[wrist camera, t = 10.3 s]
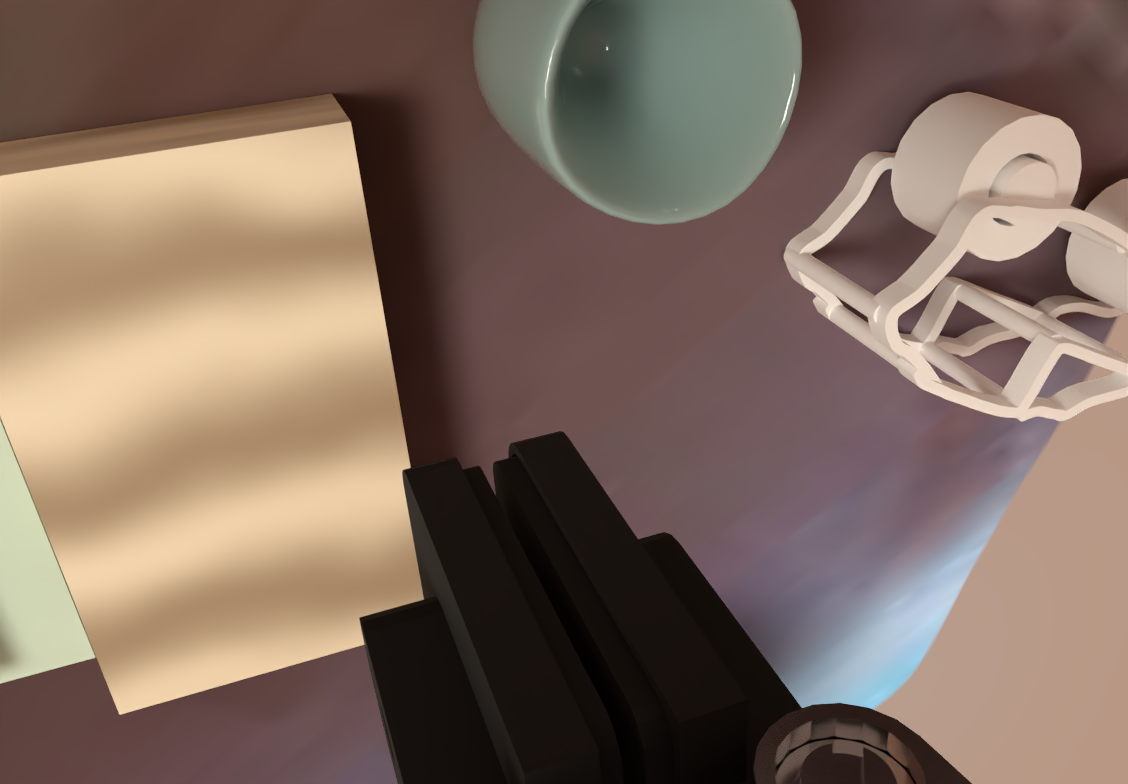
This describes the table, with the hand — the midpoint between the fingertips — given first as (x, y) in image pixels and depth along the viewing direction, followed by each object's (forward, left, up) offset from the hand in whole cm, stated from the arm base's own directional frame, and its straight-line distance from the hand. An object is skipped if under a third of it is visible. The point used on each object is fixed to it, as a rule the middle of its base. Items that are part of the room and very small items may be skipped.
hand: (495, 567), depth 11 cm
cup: (0, +10, -27) cm, 29 cm away
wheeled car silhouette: (+12, +30, -28) cm, 42 cm away
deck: (+11, -4, -27) cm, 30 cm away
